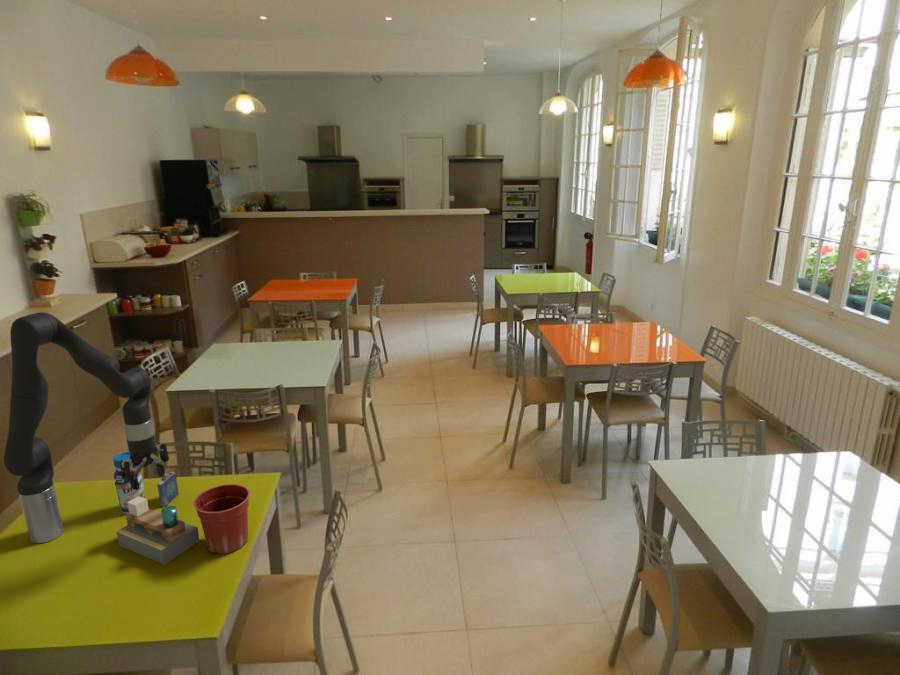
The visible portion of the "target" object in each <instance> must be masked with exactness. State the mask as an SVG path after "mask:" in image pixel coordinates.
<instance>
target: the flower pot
mask: <svg viewBox="0 0 900 675" xmlns="http://www.w3.org/2000/svg"><path fill="white" fill-rule="evenodd" d="M250 496H251V491H250V489H249V488H248V487H247V486H245V485H242V484H237V483H226V484H225V483H224V484H219V485H216V486H213V487H210V488H208V489H205V490H204V491H202V492H200V493H199V494H198V495H197V496H196V497H194V500H193V502H192V503H193V507H194V509H195V510H196V513H197V516H198V518H199V520H200V523H201V527H202V531H203V534H204V538H205V542H206V545H207V546H206V547H207V550H209V551H210V552H212V553H213V554H215V553H218V554H220V555H221V554H222V555H223V554H229V553H233V552H236V551H238V550H240V549H241V548H243V547H244V545H245V544H246V543H248V540H249V519H248V516H249V509H248V508H249V499H250Z"/></svg>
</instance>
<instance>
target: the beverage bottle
mask: <svg viewBox="0 0 900 675" xmlns="http://www.w3.org/2000/svg"><path fill="white" fill-rule="evenodd" d="M127 459H130V452H129V451H123V452H121V453H119V454H116V455H115V456H113V458H112V460H113V466H114V469H115V471H114V474H113V478H114V480H115V481H114V486H115V489H116V493H117V499H118V503H119V510H120V512H122V513H123V514H125V515H126V514H127V513H129V509H128V504H127V502H129V501H131V500H132V499H134V498H136V497H138V496H140V497H142V498H145V499H147V498H146V493H145V486H144V482H143V480H144V479H143V475H142V474H141V473H142V471H141V472H139V474H138V476H137V479H138V483H139V489H138V490H134V489H132V488H131V485H130V480H129V481H128V480H125V479H122V474H121V466H120V461H121V460H127ZM130 465H132V462H131V464H130ZM130 467H131V466H130ZM135 468H136V469H137V468H138V466H136V467H135Z"/></svg>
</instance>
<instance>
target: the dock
mask: <svg viewBox="0 0 900 675" xmlns="http://www.w3.org/2000/svg"><path fill="white" fill-rule="evenodd" d="M184 523H185V529H186V533H185V534H184V535H182V536H181V537H179V538H178V539H176V540H174V541H173V542H171V543H170V542H167V541H165V540H163V534H162V533H161V532H159V531H158V532H157V533H155V534H154V535H150V534H147V533H145V529H144V525H139V526H137V527H135V528H133V527H130V526H128V525H127V524H126V525H125V526H123V527H121V528H119V529H118V530H116V531H115V533H116V537H117V542H118V545H119V547H122V548H125V549H127V550H129V551H131V552H133V553H136V554H139V555H141V556H142V557H145V556H146V557H145V558H147V557H148V559H151V560H153V561H155V562H157V563H160V564H161V565H166V564H168V563H169V562H170V561H172V560H174V559H175V558H176V557H178V556H180V554H182V553H184V552H185V551H187V550H189V549H190V548H191V547H193V546H194V545H196V544H197V543H199V542H200V535H199V529H198V526H196V525H193V524H190V523H188V522H185V521H184Z"/></svg>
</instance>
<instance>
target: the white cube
mask: <svg viewBox="0 0 900 675" xmlns="http://www.w3.org/2000/svg"><path fill="white" fill-rule="evenodd" d="M145 498H146V497H145ZM145 498H142V497H140V496H138V497H136V498H134V499H132V500H131V501H129V502H127V504H128V509H129V514H132V515H135V516H137V517H138V516H140V515H141V514H143V513H145V512H147V511H148V510H149V509H150V508H149V502H148V499H147V498H146V499H145Z"/></svg>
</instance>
